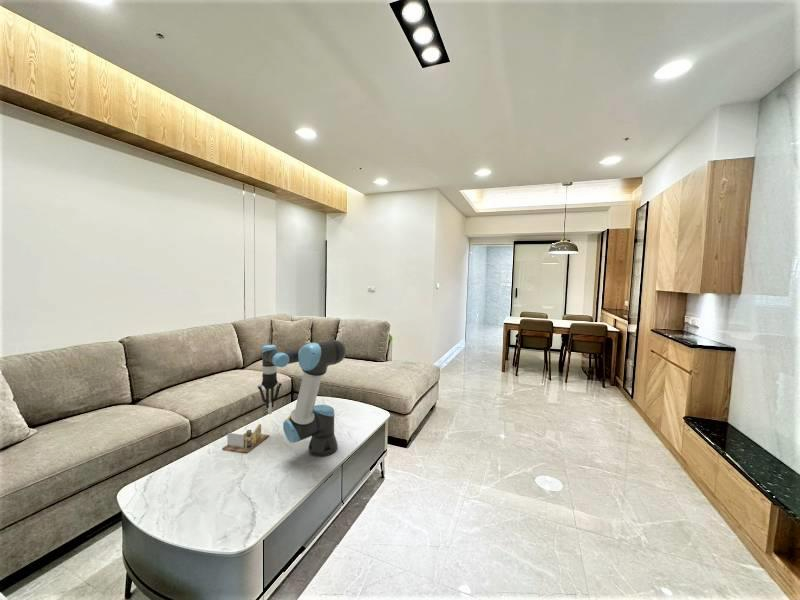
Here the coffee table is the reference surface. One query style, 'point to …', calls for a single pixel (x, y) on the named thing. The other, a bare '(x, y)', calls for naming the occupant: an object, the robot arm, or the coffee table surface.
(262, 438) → the walnut board
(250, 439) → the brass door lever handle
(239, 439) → the fixed leaf
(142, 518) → the coffee table surface
